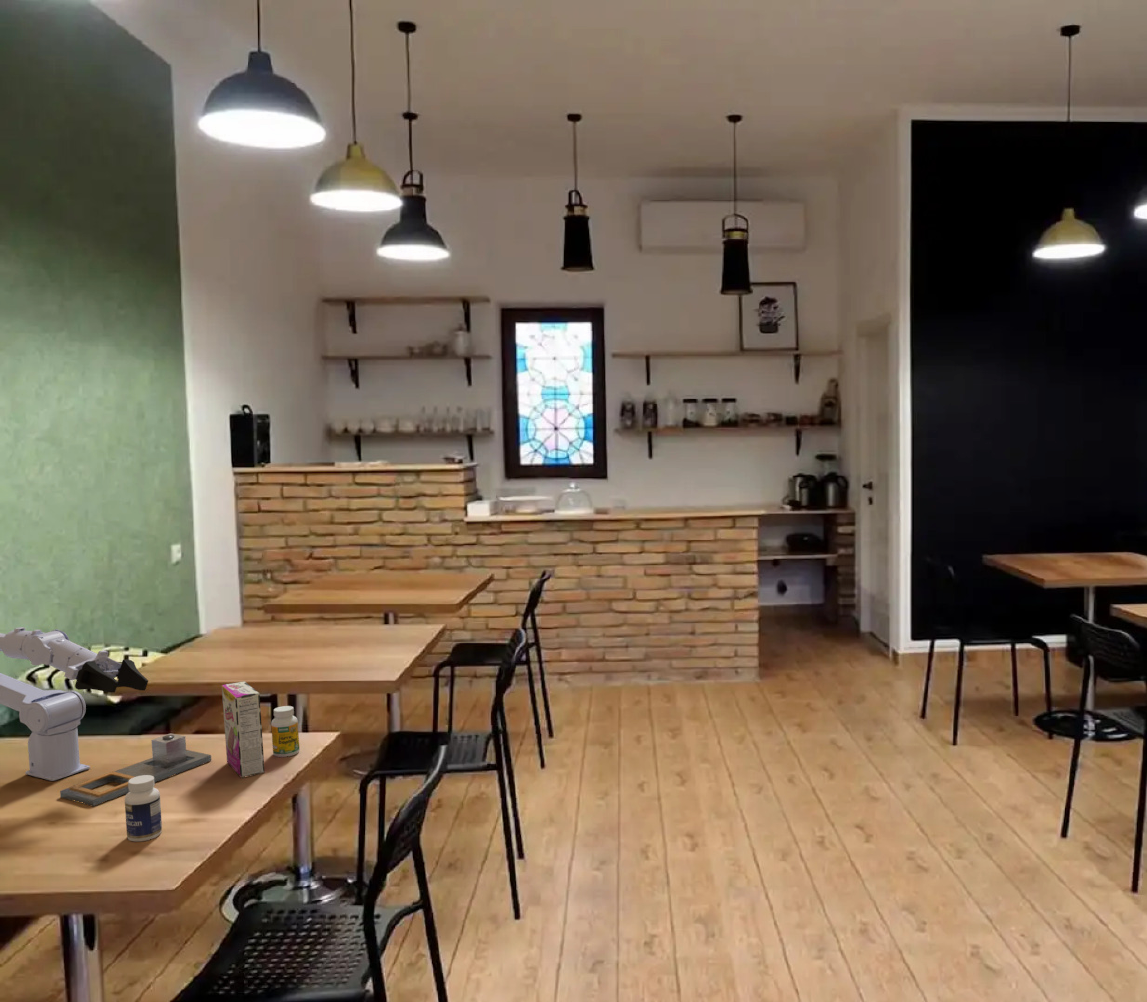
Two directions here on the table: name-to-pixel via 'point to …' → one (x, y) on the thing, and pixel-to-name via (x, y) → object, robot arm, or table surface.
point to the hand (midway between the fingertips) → (130, 686)
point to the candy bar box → (243, 728)
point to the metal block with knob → (169, 751)
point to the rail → (122, 776)
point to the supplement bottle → (285, 732)
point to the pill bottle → (142, 809)
